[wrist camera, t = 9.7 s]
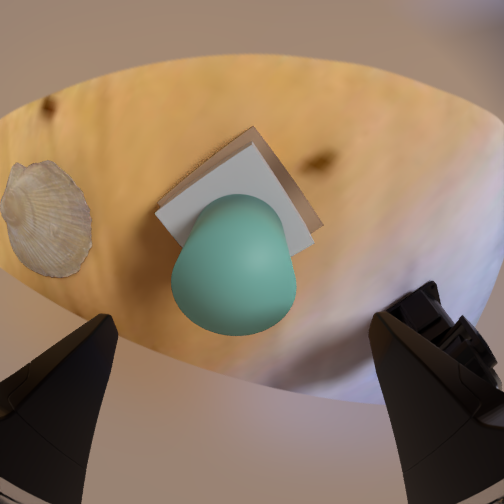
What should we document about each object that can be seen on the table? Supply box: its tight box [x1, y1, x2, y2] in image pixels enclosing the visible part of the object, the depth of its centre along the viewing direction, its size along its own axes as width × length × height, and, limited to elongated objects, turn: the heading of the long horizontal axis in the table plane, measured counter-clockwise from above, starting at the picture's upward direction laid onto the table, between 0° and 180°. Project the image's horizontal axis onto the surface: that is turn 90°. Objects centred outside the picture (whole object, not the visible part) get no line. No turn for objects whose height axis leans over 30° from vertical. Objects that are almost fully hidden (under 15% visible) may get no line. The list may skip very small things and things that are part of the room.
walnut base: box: [157, 126, 323, 234], centre depth 19 cm, size 8×8×3 cm
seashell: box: [0, 160, 92, 278], centre depth 19 cm, size 12×12×3 cm
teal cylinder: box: [171, 194, 296, 336], centre depth 13 cm, size 5×5×5 cm
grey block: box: [155, 141, 314, 257], centre depth 16 cm, size 6×6×3 cm
